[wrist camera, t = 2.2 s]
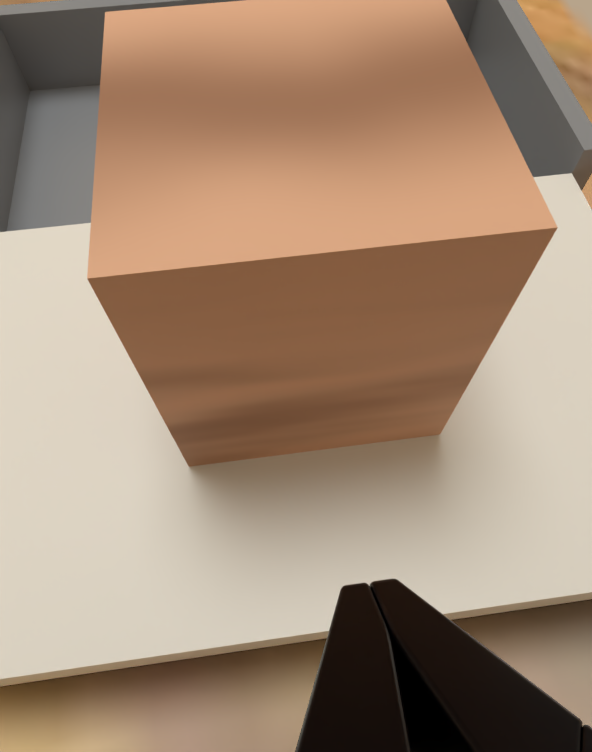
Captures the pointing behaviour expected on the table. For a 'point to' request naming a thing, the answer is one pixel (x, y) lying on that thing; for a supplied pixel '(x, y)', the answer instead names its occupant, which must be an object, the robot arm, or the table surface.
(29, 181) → the box
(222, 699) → the table surface
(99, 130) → the block
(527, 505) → the cream slab
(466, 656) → the robot arm
